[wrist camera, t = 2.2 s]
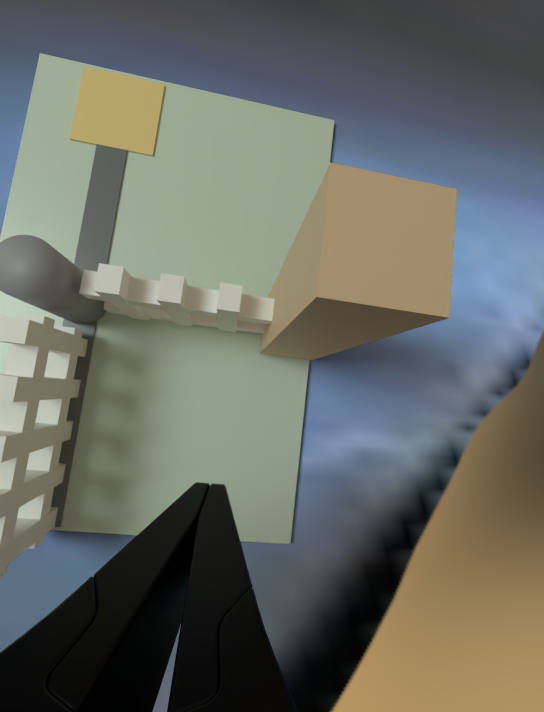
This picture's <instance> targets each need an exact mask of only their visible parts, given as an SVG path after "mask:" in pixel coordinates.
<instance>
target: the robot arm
mask: <svg viewBox="0 0 544 712" xmlns="http://www.w3.org/2000/svg"><path fill="white" fill-rule="evenodd" d="M181 621H182V622H181ZM180 624H181V628H180V634H179V641H178V647H177V653H176V659H175V666H174V672H173V678H172V685H171V691H170V697H169V703H168V710H167V712H298V711H297V709H296V706H295V704H294V701H293V699H292V696H291V694H290V692H289V689H288V687H287V684H286V682H285V679H284V677H283V675H282V672H281V670H280V667H279V665H278V662H277V660H276V657H275V655H274V652H273V650H272V647H271V644H270V641H269V639H268V636H267V633H266V631H265V628H264V625H263V621H262V618H261V615H260V611H259V608H258V605H257V601H256V597H255V593H254V590H253V589H252V584H251V580H250V576H249V572H248V569H247V565H246V561H245V557H244V553H243V550H242V546H241V542H240V538H239V535H238V531H237V527H236V523H235V519H234V516H233V512H232V508H231V504H230V501H229V497H228V493H227V489H226V486H225V485H224V484H215V483H212V484H211V485H210V484H209V483H201V482H196V483H194V484H193V485H192V486H191V487H190V488H189V489H188V490H187V491H185V492H184V493H183V494H182V495H181V496H180V497H179V498H178V499H177V500H176V501H174V502H173V503H172V504H171V505H170V506H169V507H168V508H167V509H166V510H165V511H163V512H162V513H161V514H160V515H159V516H158V517H157V518H156V519H155V520H154V521H152V522H151V523H150V524H149V525H148V526H147V527H146V528H145V529H144V530H143V531H141V532H140V533H139V534H138V535H137V536H136V537H135V538H134V539H133V540H132V541H130V542H129V543H128V544H127V545H126V546H125V547H124V548H123V549H122V550H121V551H119V552H118V553H117V554H116V555H115V556H114V557H113V558H112V559H111V560H110V561H108V562H107V563H106V564H105V565H104V566H103V567H102V568H101V569H100V570H99V571H97V572H96V573H95V574H94V577H90V578H89V579H88V580H87V581H86V582H85V583H84V584H82V585H81V586H80V587H79V588H78V589H77V590H76V591H75V592H74V593H72V594H71V595H70V596H69V597H68V598H67V599H65V600H64V601H63V602H62V603H61V604H60V605H59V606H57V607H56V608H55V609H54V610H53V611H52V612H50V613H49V614H48V615H47V616H46V617H44V618H43V619H42V620H41V621H39V622H38V623H37V624H36V625H34V626H33V627H32V628H31V629H29V630H28V631H27V632H26V633H24V634H23V635H22V636H21V637H19V638H18V639H17V640H16V641H14V642H13V643H12V644H11V645H9V646H8V647H7V648H5V649H4V650H3V651H2V652H0V712H152V711H153V708H154V705H155V702H156V699H157V695H158V692H159V689H160V686H161V683H162V680H163V677H164V674H165V671H166V668H167V664H168V661H169V658H170V655H171V652H172V649H173V646H174V643H175V640H176V636H177V633H178V630H179V627H180Z"/></svg>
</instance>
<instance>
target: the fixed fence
mask: <svg viewBox="0 0 544 712" xmlns="http://www.w3.org/2000/svg"><path fill="white" fill-rule="evenodd" d="M82 275H83V271H82V270H80V269H79V268H78V267H77V266H76V265H74V264H73V263H72V262H71V261H69V260H68V259H67V258H66V257H64V256H63V255H62V254H61V253H59V252H58V251H57V250H56V249H55V248H53V247H52V246H51V245H50V244H48V243H47V242H46V241H44V240H43V239H41V238H38V237H36V236H32V235H16V236H12V237H9V238H7V239H5V240H3V241H2V242H0V291H2V292H3V293H5V294H7V295H9V296H12V297H14V298H16V299H19V300H21V301H23V302H26V303H28V304H31V305H33V306H35V307H38V308H40V309H42V310H45V311H47V312H49V313H52V314H54V315H57V316H59V317H61V318H64V319H66V320H68V321H71V322H73V323H76V324H90V323H93V322H95V321H98V320H100V319H101V318H102V317H103V316H104V314H105V313H106V310H104V303H105V301H101V300H94V299H87V298H86V297H84V296H83V295H81V294H79V291H80V286H81V280H82ZM54 323H55V320H54V319H51V318H49V317H46V316H42V315H34V314H27V313H19V312H17V317H16V318H13V317H6V316H0V342H5V343H10V344H11V346H10V351H9V356H8V360H7V365H6V370H5V374H0V578H1V577H2V576H3V575H4V574H5V573H7V568H8V564H9V563H10V562H12V561H13V560H14V559H15V558H17V557H18V556H19V555H20V554H21V553H23V552H24V551H25V550H26V549H28V548H30V549H35V548H36V547H37V546H38V545H40V544H41V543H42V542H43V541H44V540H45V535H46V533H47V532H48V531H50V530H51V529H52V528H53V527H55V522H56V516H57V510H58V507H51V501H52V496H53V490H54V487H55V486H57V485H59V484H60V483H62V482H63V477H64V471H65V466H66V464H63V463H59V457H60V452H61V446H62V442H64V441H67V440H70V438H71V432H72V427H73V421H66V419H67V413H68V408H69V402H70V398H78V393H79V388H80V382H81V380H77V379H74V375H75V369H76V364H77V358H78V356H82V357H85V354H86V349H87V343H88V340H87V339H84V338H81V336H82V330H79V329H77V328H72V327H64V326H57V325H54Z"/></svg>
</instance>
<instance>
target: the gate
mask: <svg viewBox="0 0 544 712" xmlns="http://www.w3.org/2000/svg"><path fill="white" fill-rule="evenodd" d="M456 198H457V189H453V188H448V187H444V186H439V185H434V184H429V183H425V182H420V181H415V180H410V179H406V178H401V177H396V176H391V175H387V174H382V173H377V172H373V171H368V170H363V169H358V168H354V167H349V166H344V165H339V164H335V163H330V164H329V167H328V169H327V171H326V173H325V175H324V177H323V179H322V182H321V184H320V186H319V188H318V190H317V192H316V194H315V197H314V199H313V201H312V203H311V205H310V207H309V209H308V212H307V214H306V216H305V218H304V220H303V222H302V224H301V227H300V229H299V231H298V233H297V235H296V237H295V239H294V241H293V244H292V246H291V248H290V250H289V252H288V254H287V256H286V259H285V261H284V263H283V265H282V267H281V269H280V271H279V274H278V276H277V278H276V280H275V282H274V284H273V286H272V289H271V291H270V293H269V295H268V297H267V298H266V297H259V296H253V295H246V294H242V287H243V286H242V285H236V284H229V283H223V282H220V287H219V290H214V289H207V288H201V287H194V286H188V285H187V282H186V279H185V277H184V276H178V275H172V274H166V273H161V276H160V281H155V280H149V279H142V278H136V277H132V276H131V275H130V274H129V273H128V272H127V270H126V269H125V268H124V267H121V266H114V265H108V264H102V263H99V266H98V271H97V272H96V271H90V270H83V275H82V280H81V286H80V291H79V294H81V295H83V296H84V297H86V298H87V299H94V300H101V301H105V303H104V310H106V311H108V312H109V313H116V314H123V315H127V316H129V317H130V318H133V319H140V320H148V321H149V318H152V319H159V320H166V321H173V322H174V323H175V324H177V325H184V326H191V327H193V324H195V325H202V326H209V327H217V328H219V330H220V331H227V332H235V333H236V330H238V331H245V332H253V333H260V334H262V338H261V346H260V353H262V354H270V355H277V356H285V357H292V358H300V359H308V360H315V359H318V358H321V357H324V356H327V355H331V354H334V353H337V352H340V351H344V350H347V349H350V348H353V347H357V346H360V345H363V344H366V343H369V342H373V341H376V340H379V339H382V338H386V337H389V336H392V335H395V334H399V333H402V332H405V331H408V330H411V329H415V328H418V327H421V326H424V325H428V324H431V323H434V322H437V321H441V320H444V319H447V318H450V301H451V284H452V267H453V249H454V232H455V215H456Z"/></svg>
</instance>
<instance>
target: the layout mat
mask: <svg viewBox="0 0 544 712" xmlns="http://www.w3.org/2000/svg"><path fill="white" fill-rule="evenodd" d="M333 129H334V120H330V119H326V118H321V117H317V116H313V115H308V114H304V113H300V112H295V111H291V110H286V109H282V108H278V107H273V106H269V105H264V104H260V103H256V102H251V101H247V100H242V99H238V98H234V97H229V96H225V95H221V94H216V93H212V92H207V91H203V90H199V89H194V88H190V87H185V86H181V85H177V84H172V83H168V82H164V81H159V80H155V79H150V78H146V77H142V76H137V75H133V74H128V73H124V72H120V71H115V70H111V69H107V68H102V67H98V66H93V65H89V64H85V63H80V62H76V61H71V60H67V59H63V58H58V57H54V56H50V55H45V54H41V53H40V56H39V60H38V65H37V69H36V74H35V79H34V83H33V88H32V93H31V97H30V102H29V106H28V111H27V116H26V120H25V125H24V130H23V134H22V139H21V143H20V148H19V153H18V157H17V162H16V167H15V171H14V176H13V180H12V185H11V190H10V194H9V199H8V204H7V208H6V213H5V217H4V222H3V227H2V231H1V236H0V242H2V241H3V240H5V239H7V238H9V237H12V236H16V235H32V236H36V237H38V238H41V239H43V240H44V241H46V242H47V243H48V244H50V245H51V246H52V247H53V248H55V249H56V250H57V251H58V252H59V253H61V254H62V255H63V256H64V257H66V258H67V259H68V260H69V261H71V262H72V263H73V264H74V265H76V266H77V267H78V268H79V269H80V270H82V271H83V270H90V271H96V272H97V271H98V266H99V263H102V264H108V265H114V266H121V267H124V268H125V269H126V270H127V272H128V273H129V274H130V275H131V276H132V277H136V278H142V279H149V280H155V281H160V276H161V273H166V274H172V275H178V276H184V277H185V279H186V282H187V285H188V286H194V287H201V288H207V289H214V290H219V287H220V282H223V283H229V284H236V285H242V286H243V287H242V294H246V295H253V296H259V297H266V298H267V297H268V295H269V293H270V291H271V289H272V286H273V284H274V282H275V280H276V278H277V276H278V274H279V271H280V269H281V267H282V265H283V263H284V261H285V259H286V256H287V254H288V252H289V250H290V248H291V246H292V244H293V241H294V239H295V237H296V235H297V233H298V231H299V229H300V227H301V224H302V222H303V220H304V218H305V216H306V214H307V212H308V209H309V207H310V205H311V203H312V201H313V199H314V197H315V194H316V192H317V190H318V188H319V186H320V184H321V182H322V179H323V177H324V175H325V173H326V171H327V169H328V167H329V164H330V157H331V148H332V138H333ZM17 312H19V313H27V314H34V315H42V316H46V317H49V318H51V319H54V320H55V323H54V325H57V326H64V327H72V328H77V329H79V330H82V336H81V338H84V339H87V340H88V343H87V349H86V354H85V357H82V356H78V358H77V364H76V369H75V375H74V379H77V380H81V382H80V388H79V393H78V398H70V402H69V408H68V413H67V419H66V421H73V427H72V432H71V438H70V440H67V441H64V442H62V446H61V452H60V457H59V463H63V464H66V466H65V471H64V477H63V482H62V483H60V484H59V485H57V486H55V487H54V490H53V496H52V501H51V507H58V510H57V516H56V522H55V527H53V528H52V529H51V530H57V531H74V532H91V533H109V534H126V535H138V534H139V533H140V532H141V531H143V530H144V529H145V528H146V527H147V526H148V525H149V524H150V523H151V522H152V521H154V520H155V519H156V518H157V517H158V516H159V515H160V514H161V513H162V512H163V511H165V510H166V509H167V508H168V507H169V506H170V505H171V504H172V503H173V502H174V501H176V500H177V499H178V498H179V497H180V496H181V495H182V494H183V493H184V492H185V491H187V490H188V489H189V488H190V487H191V486H192V485H193V484H194V483H196V482H201V483H209V484H210V485H211V484H212V483H215V484H224V485H225V486H226V489H227V493H228V497H229V501H230V504H231V508H232V512H233V516H234V519H235V523H236V527H237V531H238V535H239V538H240V541H246V542H263V543H280V544H290V542H291V532H292V522H293V513H294V503H295V494H296V484H297V474H298V465H299V455H300V446H301V436H302V426H303V417H304V407H305V398H306V388H307V378H308V369H309V360H308V359H300V358H292V357H285V356H277V355H270V354H262V353H260V346H261V338H262V334H260V333H253V332H245V331H238V330H236V333H235V332H227V331H220V330H219V328H217V327H209V326H202V325H195V324H193V327H191V326H184V325H177V324H175V323H174V322H173V321H166V320H159V319H152V318H149V321H148V320H140V319H133V318H130V317H129V316H127V315H123V314H116V313H109V312H108V311H106V313H105V314H104V316H103V317H102V318H101V319H100V320H98V321H95V322H93V323H90V324H76V323H73V322H71V321H68V320H66V319H64V318H61V317H59V316H57V315H54V314H52V313H49V312H47V311H45V310H42V309H40V308H38V307H35V306H33V305H31V304H28V303H26V302H23V301H21V300H19V299H16V298H14V297H12V296H9V295H7V294H5V293H3V292H2V291H0V316H6V317H13V318H16V317H17ZM10 346H11V344H10V343H5V342H0V374H5V370H6V365H7V360H8V356H9V351H10Z"/></svg>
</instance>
